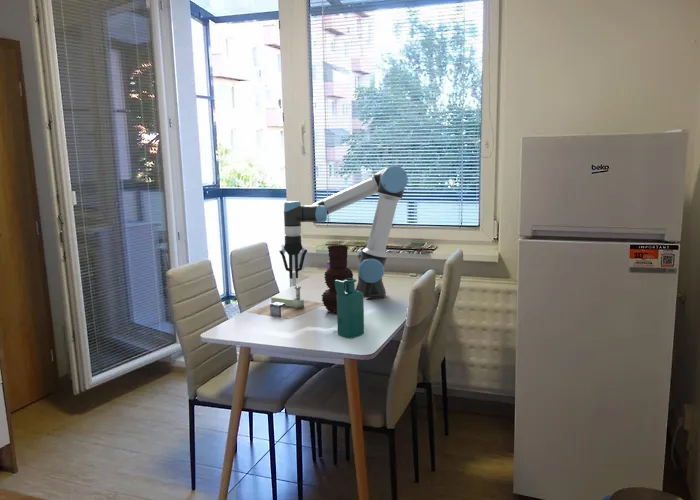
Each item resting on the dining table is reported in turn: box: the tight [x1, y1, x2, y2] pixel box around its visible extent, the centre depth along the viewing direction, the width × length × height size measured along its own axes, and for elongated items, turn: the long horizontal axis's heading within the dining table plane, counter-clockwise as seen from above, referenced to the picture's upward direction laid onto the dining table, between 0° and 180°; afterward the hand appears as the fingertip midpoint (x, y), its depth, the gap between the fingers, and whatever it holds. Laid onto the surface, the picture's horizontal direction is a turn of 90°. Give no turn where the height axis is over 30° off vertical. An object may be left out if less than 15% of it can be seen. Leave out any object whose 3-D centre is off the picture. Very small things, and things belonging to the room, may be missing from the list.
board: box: [248, 299, 324, 320], centre depth 250 cm, size 23×28×2 cm
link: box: [270, 295, 305, 308], centre depth 254 cm, size 17×5×3 cm, turn 58°
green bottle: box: [335, 277, 365, 339], centre depth 213 cm, size 10×8×22 cm
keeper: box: [270, 302, 285, 318], centre depth 238 cm, size 5×4×5 cm
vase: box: [321, 244, 354, 315], centre depth 241 cm, size 15×15×30 cm
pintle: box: [294, 285, 302, 300], centre depth 250 cm, size 3×3×6 cm
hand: (294, 285), depth 259 cm, fingers closed
